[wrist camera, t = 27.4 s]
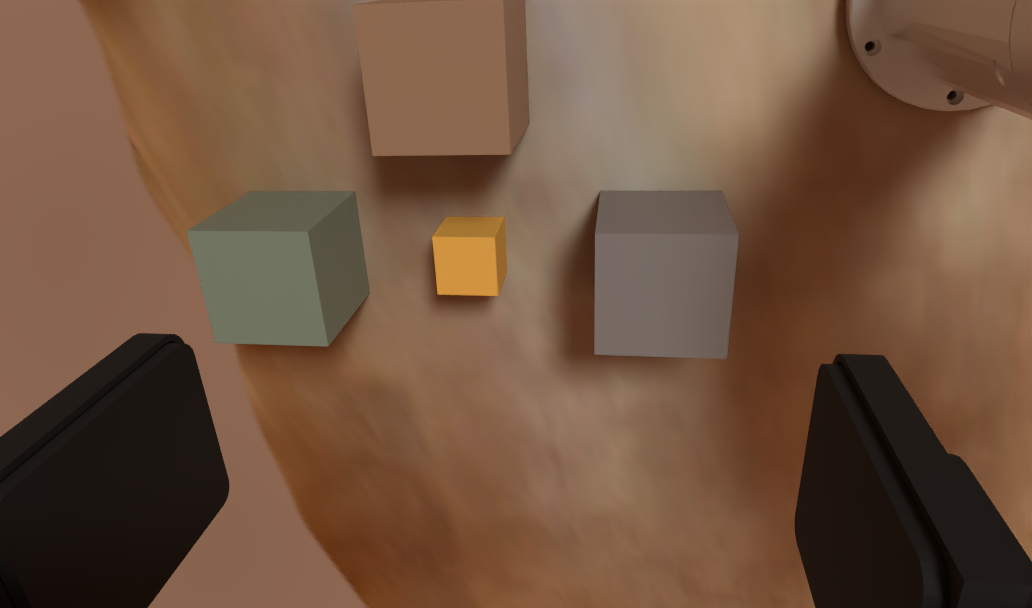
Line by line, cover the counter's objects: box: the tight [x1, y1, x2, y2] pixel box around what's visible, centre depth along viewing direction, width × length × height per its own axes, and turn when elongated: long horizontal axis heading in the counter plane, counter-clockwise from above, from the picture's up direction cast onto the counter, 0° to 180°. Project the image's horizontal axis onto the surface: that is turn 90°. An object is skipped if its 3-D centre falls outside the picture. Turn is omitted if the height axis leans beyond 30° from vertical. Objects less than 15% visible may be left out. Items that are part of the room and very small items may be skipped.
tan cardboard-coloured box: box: [353, 0, 529, 156], centre depth 40 cm, size 8×8×8 cm
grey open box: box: [594, 191, 739, 359], centre depth 44 cm, size 8×8×8 cm
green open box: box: [187, 192, 370, 347], centre depth 47 cm, size 8×8×8 cm
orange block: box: [432, 217, 507, 296], centre depth 47 cm, size 4×4×4 cm
